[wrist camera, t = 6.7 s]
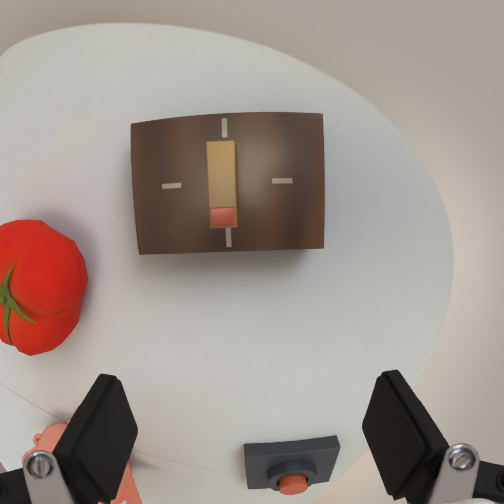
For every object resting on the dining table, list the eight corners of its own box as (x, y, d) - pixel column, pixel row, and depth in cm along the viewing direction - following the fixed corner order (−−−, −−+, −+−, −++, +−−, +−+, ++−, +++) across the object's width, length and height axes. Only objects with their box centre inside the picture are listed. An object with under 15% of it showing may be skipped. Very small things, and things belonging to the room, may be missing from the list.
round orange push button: (307, 472, 29) (309, 482, 27) (304, 483, 29) (306, 493, 28) (279, 475, 28) (280, 485, 27) (278, 486, 29) (279, 496, 28)
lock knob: (213, 147, 19) (205, 141, 15) (236, 146, 19) (234, 139, 15) (216, 218, 21) (209, 229, 16) (238, 217, 21) (237, 228, 17)
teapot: (165, 469, 33) (149, 539, 20) (100, 476, 35) (81, 529, 22) (87, 401, 29) (45, 476, 16) (35, 418, 31) (1, 471, 18)
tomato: (40, 177, 22) (-22, 185, 14) (125, 262, 24) (77, 302, 16) (0, 274, 24) (-48, 301, 16) (69, 347, 27) (31, 392, 18)
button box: (336, 435, 31) (343, 457, 27) (326, 471, 34) (330, 490, 30) (244, 443, 31) (244, 467, 27) (247, 478, 34) (248, 498, 30)
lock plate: (313, 120, 22) (323, 113, 19) (314, 239, 24) (324, 249, 21) (143, 128, 21) (129, 123, 18) (150, 245, 24) (138, 255, 21)
